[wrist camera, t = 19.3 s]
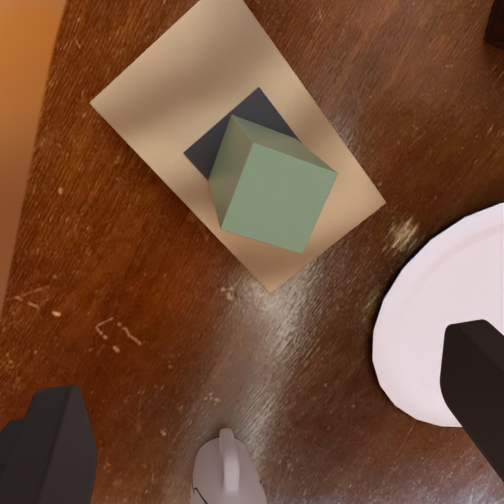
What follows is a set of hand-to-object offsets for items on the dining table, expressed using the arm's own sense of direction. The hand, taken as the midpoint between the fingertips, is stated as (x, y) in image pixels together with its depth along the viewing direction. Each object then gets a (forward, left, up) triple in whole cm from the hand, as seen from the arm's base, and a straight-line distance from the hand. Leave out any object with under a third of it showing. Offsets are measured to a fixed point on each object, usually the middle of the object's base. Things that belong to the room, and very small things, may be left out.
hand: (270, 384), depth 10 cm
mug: (+29, -22, -33) cm, 49 cm away
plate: (+37, +11, -33) cm, 51 cm away
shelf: (+3, +2, -33) cm, 33 cm away
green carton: (+3, +2, -26) cm, 26 cm away
